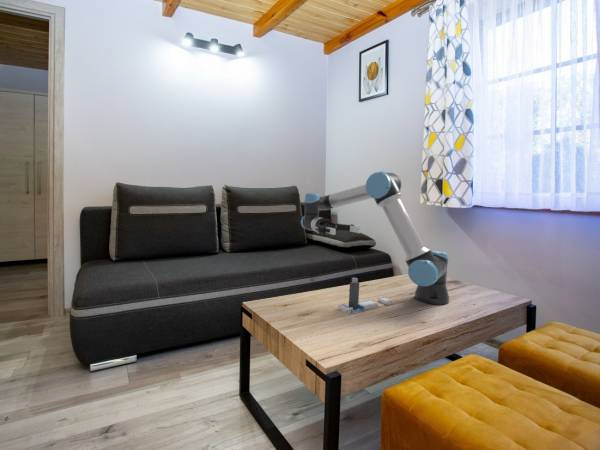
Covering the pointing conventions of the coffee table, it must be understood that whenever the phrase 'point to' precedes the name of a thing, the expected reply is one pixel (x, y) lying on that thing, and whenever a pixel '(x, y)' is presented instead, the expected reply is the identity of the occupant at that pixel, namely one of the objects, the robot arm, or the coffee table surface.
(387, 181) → the robot arm
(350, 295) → the cable plug
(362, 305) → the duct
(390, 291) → the coffee table surface
